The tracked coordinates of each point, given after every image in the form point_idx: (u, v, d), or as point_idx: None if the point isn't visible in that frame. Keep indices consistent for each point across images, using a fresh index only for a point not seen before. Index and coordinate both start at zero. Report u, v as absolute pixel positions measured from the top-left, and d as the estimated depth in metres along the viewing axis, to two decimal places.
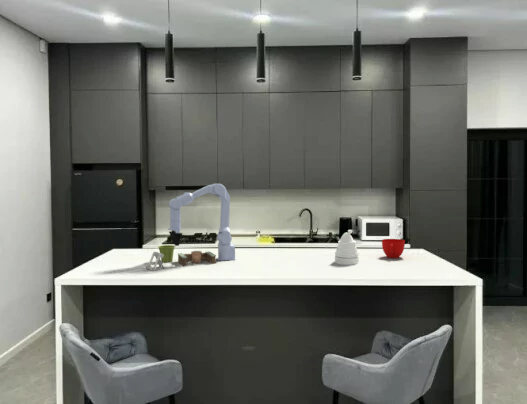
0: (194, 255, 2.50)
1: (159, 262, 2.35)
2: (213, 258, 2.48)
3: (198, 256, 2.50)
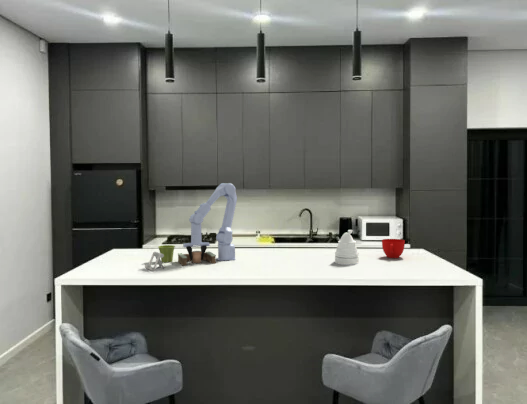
0: (194, 255, 2.50)
1: (159, 262, 2.35)
2: (213, 258, 2.48)
3: (198, 256, 2.50)
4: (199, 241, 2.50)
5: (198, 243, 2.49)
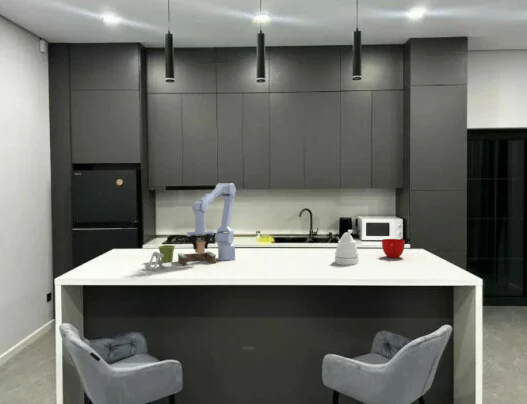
0: (198, 244, 2.40)
1: (159, 262, 2.35)
2: (213, 258, 2.48)
3: (202, 246, 2.40)
4: (204, 230, 2.40)
5: (203, 232, 2.39)
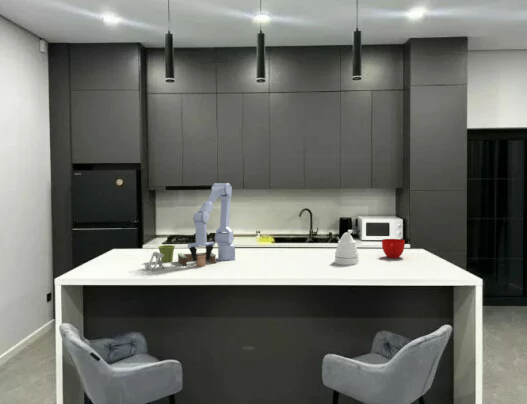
0: (199, 258, 2.39)
1: (159, 262, 2.35)
2: (213, 258, 2.48)
3: (203, 259, 2.40)
4: (205, 241, 2.39)
5: (204, 243, 2.39)
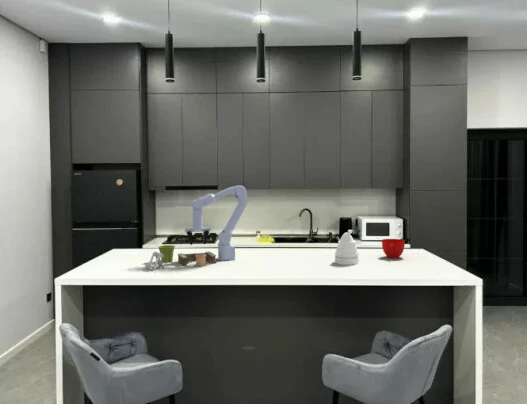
0: (199, 258, 2.39)
1: (159, 262, 2.35)
2: (213, 258, 2.48)
3: (203, 259, 2.40)
4: (200, 226, 2.55)
5: (199, 228, 2.54)
